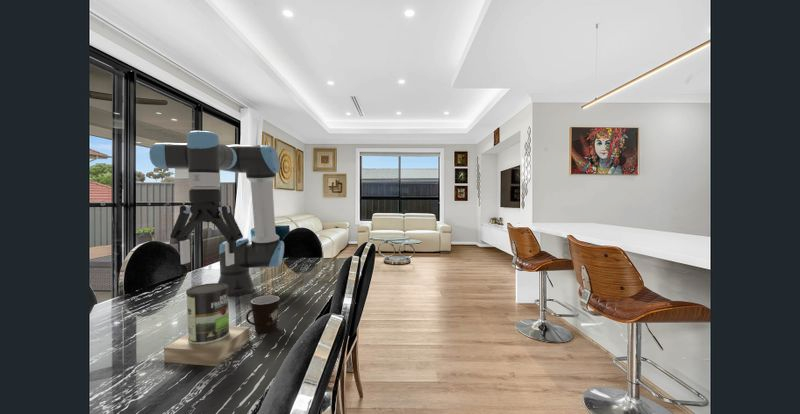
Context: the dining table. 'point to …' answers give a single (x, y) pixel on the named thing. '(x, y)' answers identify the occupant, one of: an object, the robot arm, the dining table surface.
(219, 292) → the coffee can
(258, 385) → the dining table surface
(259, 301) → the coffee mug
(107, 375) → the dining table surface
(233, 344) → the oak riser
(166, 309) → the dining table surface
